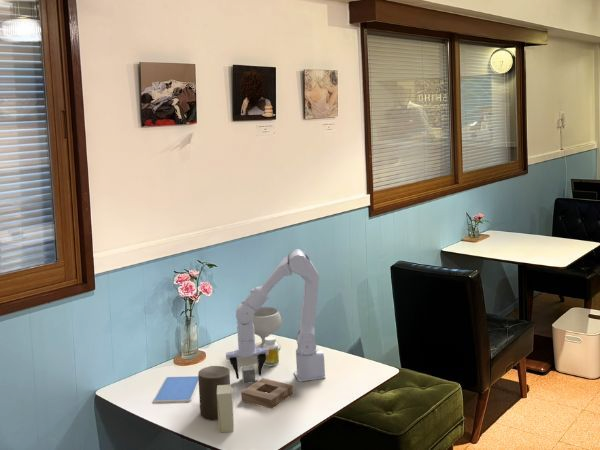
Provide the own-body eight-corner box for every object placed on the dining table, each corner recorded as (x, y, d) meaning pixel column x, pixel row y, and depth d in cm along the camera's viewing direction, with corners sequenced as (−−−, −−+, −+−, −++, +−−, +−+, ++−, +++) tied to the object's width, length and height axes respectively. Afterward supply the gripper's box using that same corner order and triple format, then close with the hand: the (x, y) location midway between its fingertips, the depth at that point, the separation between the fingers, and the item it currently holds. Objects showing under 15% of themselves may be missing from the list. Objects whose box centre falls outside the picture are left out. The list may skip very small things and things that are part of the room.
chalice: (290, 347, 255) (288, 310, 252) (264, 358, 245) (261, 320, 242) (265, 339, 264) (263, 303, 261) (239, 350, 254) (236, 312, 251)
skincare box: (219, 422, 197) (216, 384, 195) (234, 421, 198) (231, 383, 195) (218, 433, 191) (215, 394, 189) (234, 431, 191) (231, 392, 189)
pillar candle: (205, 423, 197) (202, 376, 194) (196, 410, 206) (194, 364, 203) (236, 416, 201) (234, 370, 198) (226, 403, 210) (224, 359, 207)
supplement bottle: (277, 366, 237) (275, 341, 235) (262, 366, 238) (261, 340, 236) (280, 360, 242) (279, 335, 240) (266, 360, 243) (264, 335, 241)
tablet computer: (166, 379, 231) (166, 376, 231) (202, 378, 231) (201, 375, 231) (152, 404, 212) (152, 401, 212) (191, 403, 212) (191, 399, 212)
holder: (263, 386, 221) (262, 378, 220) (293, 393, 214) (292, 385, 214) (241, 400, 211) (241, 392, 210) (272, 408, 205) (271, 399, 204)
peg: (253, 377, 229) (253, 364, 228) (255, 382, 225) (254, 369, 224) (242, 378, 228) (241, 366, 227) (243, 383, 224) (243, 370, 223)
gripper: (265, 332, 229) (267, 369, 231) (223, 337, 226) (226, 374, 228) (268, 339, 222) (271, 377, 225) (225, 344, 219) (228, 382, 222)
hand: (248, 376), depth 226 cm, fingers open, 7 cm apart
